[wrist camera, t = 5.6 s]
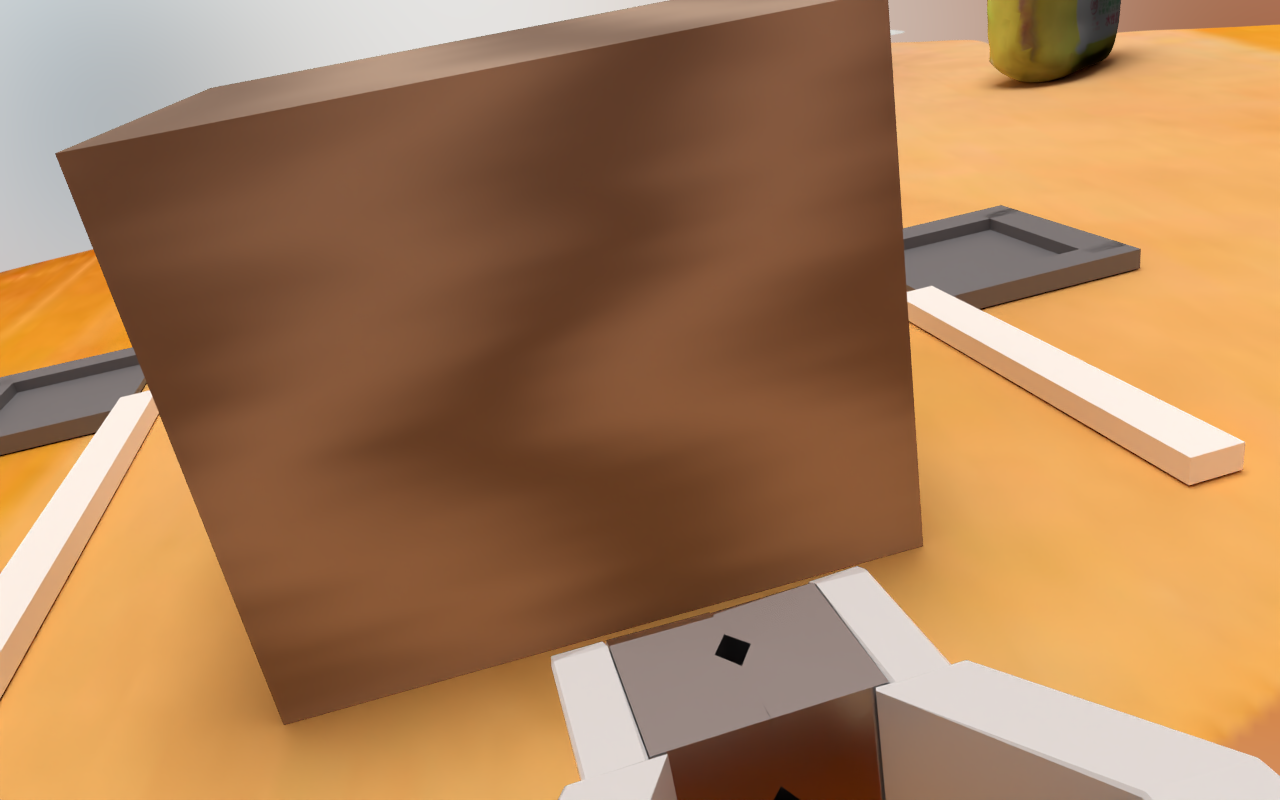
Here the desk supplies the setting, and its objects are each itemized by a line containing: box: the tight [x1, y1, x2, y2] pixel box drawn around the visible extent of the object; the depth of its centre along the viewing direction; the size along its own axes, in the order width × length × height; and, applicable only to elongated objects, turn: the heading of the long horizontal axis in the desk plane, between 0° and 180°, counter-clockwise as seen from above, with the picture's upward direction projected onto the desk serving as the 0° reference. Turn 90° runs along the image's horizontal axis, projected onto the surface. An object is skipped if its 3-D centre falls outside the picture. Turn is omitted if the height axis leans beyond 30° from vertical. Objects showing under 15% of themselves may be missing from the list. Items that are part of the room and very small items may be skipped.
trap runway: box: [0, 205, 1245, 698], centre depth 31 cm, size 38×32×4 cm
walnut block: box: [56, 0, 923, 725], centre depth 22 cm, size 12×12×10 cm
